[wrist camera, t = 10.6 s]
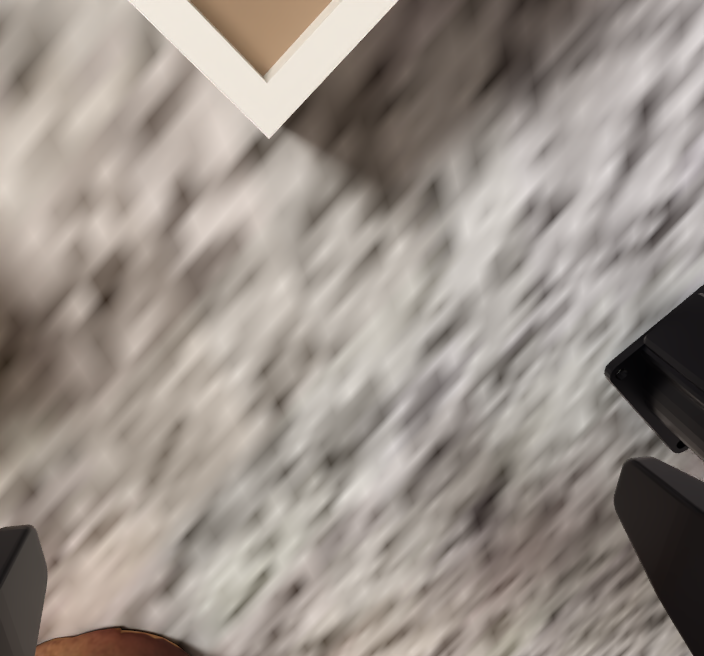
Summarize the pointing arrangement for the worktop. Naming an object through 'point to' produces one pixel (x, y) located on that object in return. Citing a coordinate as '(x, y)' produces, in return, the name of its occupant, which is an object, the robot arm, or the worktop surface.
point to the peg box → (265, 46)
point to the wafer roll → (110, 645)
